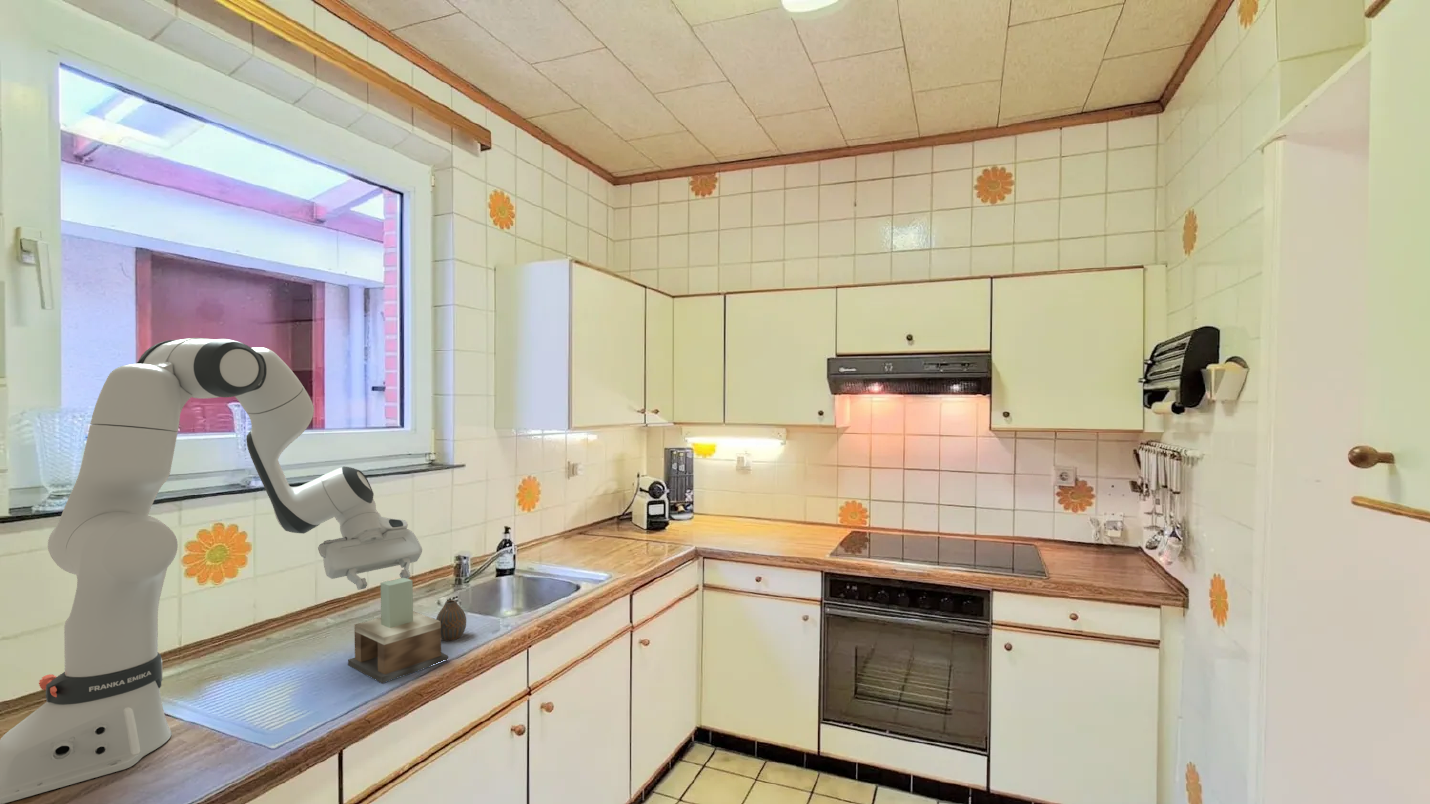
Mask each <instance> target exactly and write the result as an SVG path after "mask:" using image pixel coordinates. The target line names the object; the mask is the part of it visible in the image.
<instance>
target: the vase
mask: <svg viewBox="0 0 1430 804" xmlns="http://www.w3.org/2000/svg"><path fill="white" fill-rule="evenodd" d="M435 618H436V620H438V621H441V641H446V642H450V641H455V640H458V639H460V638H461V636H463V634H464V633H465V630H466V627H467V615H466V613H465V611H464V609H463V608H462V607H461V606H460V605H459V604H458V602H457V600H455V599H451V600H447V601H445V603H444V604H443V606H442V608H441V609H440V611H439V612H438V613H437V616H436V617H435Z"/></svg>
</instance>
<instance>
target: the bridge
mask: <svg viewBox="0 0 1430 804" xmlns="http://www.w3.org/2000/svg"><path fill="white" fill-rule="evenodd" d="M353 627H354V657H351V658H349V659H347V666H349V667H350V668H352V669H355V670H357V671H359V672H360V673H362V674H364V675H366V676H367V675H368V676H367V677H369V676H370V677H369V678H371V677H372V678H371V679H373V680H375V679H376V680H377V682H378V681H379V683H380V682H381V683H380V684H384V683H383V682H385V683H386V681H388V682H390V681H392V680H391V679H393V680H395V679H394V678H396V679H398V678H397V677H399V678H401V677H400V676H402V677H404V676H403V675H405V676H408V675H410V673H411V674H413V672H414V673H416V672H415V671H417V672H419V671H418V670H420V671H421V669H422V670H424V669H423V668H425V669H427V668H426V667H428V668H430V667H429V666H431V665H433V664H436V663H438V662H441V661H443V660H447V659H448V660H449V655H448V654H446V653H444V652H442V639H441V621H438V620H436V619H435V618H433V617H430V616H427V615H424V614H423V613H418V612H416V611H415V610H413V622H409V623H406V624H402V625H399V626H395V627H391V628H389V627H386V626H384V625H381V617H378V618H374V619H370V620H366V621H362V622H358V623H355V624H354V625H353ZM431 667H432V666H431ZM376 680H375V681H376ZM389 680H390V681H389Z"/></svg>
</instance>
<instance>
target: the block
mask: <svg viewBox="0 0 1430 804" xmlns="http://www.w3.org/2000/svg"><path fill="white" fill-rule="evenodd" d="M413 590H414V589H413V579H410V578H409V579H406V578H401V577H400V578H395V579H391V580H388V581H383V582H380V618H381V625H384V626H386V627H389V628H391V627H395V626H399V625H402V624H406V623H409V622H413V611H414V603H413V601H414V600H413V599H414V596H413V595H414V594H413V592H414V591H413Z"/></svg>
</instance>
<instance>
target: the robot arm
mask: <svg viewBox="0 0 1430 804" xmlns="http://www.w3.org/2000/svg"><path fill="white" fill-rule="evenodd" d="M299 379H300V378H298V376H297V375H296V374H295V373H294V372H293V370H292V369H291V368H290V367H289V365H288V364H286V362H285V361H284V360H283V359H282V358H281V357H280V356H279V355H278V354H277V353H276V352H274V351H273V350H271V349H270V348H266V347H260V346H259V347H257V346H256V347H255V346H254V347H250V346H249V345H247V344H245V343H244V342H240V341H237V340H233V339H230V338H229V339H228V338H217V339H213V338H204V337H191V338H190V337H189V338H182V339H169V340H164V341H161V342H158V343H156V344H154V345H152V346H150V347H149V348H148V349H147V350H145V351H144V352H143V353H142V354H141V356H140V357H139V359H138V361H137V362H136V363H132V364H131V363H130V364H125V365H122V366H119V367H117V368H115V369H113V370H112V371H110V373H109V374H108V375H107V378H106V380H105V381H104V384H103V386H102V388H101V390H100V393H99V395H98V398H97V400H96V403H95V406H94V409H93V412H92V415H91V418H90V419H91V420H90V425H89V429H88V432H87V433H88V434H87V438H86V443H85V447H84V452H83V457H82V461H81V466H80V468H79V472H78V476H77V478H76V480H75V484H74V485H73V488H72V490H71V492H70V494H69V496H68V499H67V501H66V503H65V506H64V507H63V510H62V513H61V516H60V518H59V521H58V523H57V525H56V526H55V527H54V529H52V531H51V533H50V535H49V537H48V539H47V540H48V541H47V550H48V554H49V555H50V557H51V559H52V561H53V562H54V563H55V565H57V566H58V567H59V569H61V570H63V571H65V572H67V573H69V574H73V575H76V578H77V579H76V580H77V581H76V582H77V583H76V589H75V595H74V599H73V604H72V607H71V609H70V614H69V616H68V617H67V619H66V621H65V623H64V627H63V628H64V629H63V630H64V633H63V634H64V636H63V637H64V671H63V672H61V674H59V675H58V676H57V675H55V674H52V673H50V674H46V675H43V676H42V677H41V679H39V680H38V681H39V682H38V684H39V685H38V686H39V687H40V689H41V690H43V691H45V699H46V701H45V702H44V703H42V705H41V706H39V707H38V708H37V709H36V710H35V711H33V712H31V714H29V715H28V716H26V717H25V718H24V719H23V720H21V721H20V722H19V723H17V724H16V725H14V727H12V728H10V730H8V731H7V732H5V733H4V734H3V735H2V737H1V738H0V804H7V803H10V802H14V801H17V800H18V801H19V800H21V799H25V798H29V797H32V796H35V795H38V794H43V793H46V792H49V791H53V790H56V789H59V788H64V787H67V786H69V785H74V784H77V783H80V782H85V781H88V780H92V779H94V778H95V779H96V778H98V777H101V776H105V775H109V774H114V773H115V772H120V771H124V770H126V769H128V768H131V767H132V766H134V765H135V764H137V763H139V761H140V760H141V759H142V758H143V757H145V756H146V755H148V754H149V753H152V752H153V751H155V750H156V749H158V748H160V747H161V746H163V745H165V743H167V741H168V740H169V739H170V738H171V737H172V730H171V729H170V728H171V727H170V726H169V723H168V721H167V718H166V715H165V710H164V706H163V701H162V695H161V687H162V681H163V659H162V654H161V653H160V652H159V647H158V646H159V644H158V643H159V641H158V640H159V637H158V634H159V631H158V627H159V625H158V620H159V619H158V617H159V616H158V615H159V605H160V599H161V595H162V590H163V587H164V582H165V579H166V575H167V570H168V568H169V567H170V565H171V564H172V563H173V561H174V560H175V557H176V555H177V552H178V548H179V547H178V545H179V544H178V539H177V537H176V535H175V533H174V531H173V530H172V529H171V528H170V527H168V526H167V524H165V523H164V522H162V521H161V520H159V519H158V518H155V517H153V516H151V515H149V513H150V511H151V508H152V506H153V504H154V502H155V499H156V497H157V495H158V493H159V491H160V490H161V488H162V487H163V485H164V484H165V483H166V482H167V480H169V477H170V474H171V469H172V465H173V460H174V454H175V448H176V443H177V439H178V438H177V437H178V432H179V427H180V420H181V413H182V411H183V408H184V407H185V405H186V404H187V402H188V401H189V400H190V399H191V398H194V399H214V398H218V399H219V398H236V400H237V401H238V402H239V404H240V406H241V407H242V408H243V410H244V411H245V413H246V414H247V415H248V417H249V420H250V423H251V424H250V425H251V429H250V431H249V432H248V434H246V438H245V439H246V447H247V449H248V450H247V451H248V454H249V456H250V459H251V461H252V463H253V466H254V468H255V470H256V472H257V474H258V477H259V479H260V481H261V483H262V486H263V487H264V490H265V492H266V493H267V496H268V498H269V501H270V502H271V505H272V507H273V511H274V515H275V518H276V520H277V523H278V524H279V525H280V527H281V528H282V529H283V530H284V531H286V532H290V533H294V534H307V533H308V532H310V531H311V530H313V529H315V528H317V527H318V526H320V525H322V524H323V523H325V522H327V521H329V520H331V519H333V518H335V520H336V521H337V522H338V523H339V531H340V534H341V536H342V537H339V538H338V537H337V538H334V539H326V540H323V542H322V543H320V544H319V545H318V547H317V548H318V552H319V556H321V557H322V559H323V566H324V567H323V568H324V571H325V572H324V573H325V575H326V577H328V578H330V579H331V580H334V579H339V578H343V577H346V579H347V580H348V581H349V582H351V583H352V584H354V585H355V586H356V589H357V590H358V591H359V590H364V589H367V587H368V582H367V579H366V578H365V577H364V578H362V577H360V576H359V575H358V574H363V573H368V572H372V571H376V570H377V571H378V570H381V569H383V570H384V569H387V568H392V567H398V566H400V567H401V568H403V569H401V571H400V573H399V577H400V578H406V579H410V577H411V572H410V570H409V568H410V564H413V563H416V562H418V560H419V559H420V557H421V555H422V553H423V548H422V545H421V543H420V541H419V540H418V538H417V536H416V535H415V533H414V532H413V531H412V530H410V529H408V525H409V524H408V521H406V520H405V519H400V518H399V519H398V518H391V517H385V516H382V515H381V514H380V513H379V512H378V511H377V507H376V506H377V505H376V502H375V499H374V496H375V495H374V491H373V489H372V486H371V485H370V482H369V480H368V479H367V476H366V475H365V474H364V473H363V472H362V471H361V470H360V469H357V468H354V467H350V466H341V467H338V468H335V469H334V470H333V469H332V470H331V471H329V472H327V473H325V474H323V475H321V476H320V477H317V478H315V479H314V478H313V479H312V480H310V481H307V482H305V483H303V484H302V485H299V486H290V484H289V481H288V479H287V478H286V475H285V473H284V471H283V467H282V466H281V464H280V461H279V458H280V456H281V454H283V452H284V451H285V450H286V449H287V448H288V447H289V446H290V445H291V444H292V443H293V442H294V441H295V440H297V439H298V438H299V437H300V436H302V434H303V433H304V432H305V431H306V430H307V428H308V427H309V425H310V424H311V422H312V419H313V417H314V411H315V410H314V409H315V408H314V407H315V406H314V404H313V401H312V399H311V398H310V395H309V393H308V391H307V390H306V389H305V387H304V386H303V384H302V382H301V380H299Z"/></svg>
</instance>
